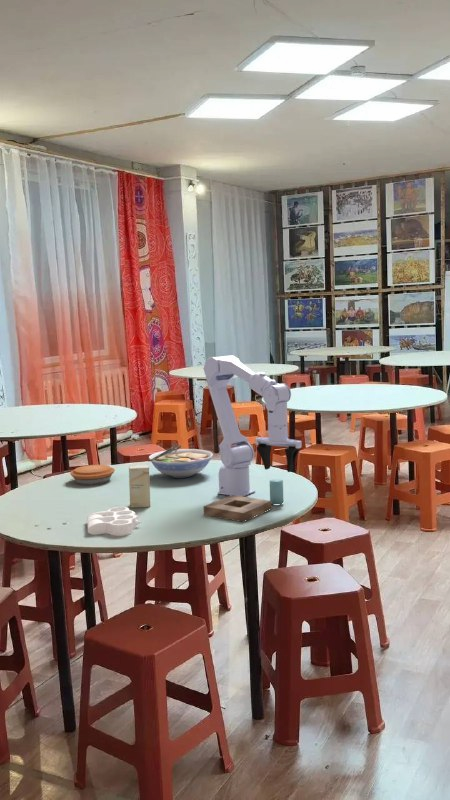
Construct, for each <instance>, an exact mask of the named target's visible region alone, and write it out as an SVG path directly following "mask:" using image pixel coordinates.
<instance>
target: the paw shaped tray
mask: <svg viewBox="0 0 450 800" xmlns="http://www.w3.org/2000/svg"><path fill="white" fill-rule="evenodd" d="M140 517H141V516H140V515H137V513H136V512H135V511H133V510H130V508H129V507H128V506H114V507H111V508H109V509H107V510H104V511H97V512H93V513H91V514H89V515H87V516H86V519H87V520H86V521H87V533H88V534H90V535H93V536H94V535H101V534H110V535H111V536H117V537H120V536H121V537H122V536H128V535H131V534H134V530H135V529H136V528H137V526H138V525H140V524H142V521H140V520H138V519H139V518H140Z"/></svg>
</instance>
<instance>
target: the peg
mask: <svg viewBox="0 0 450 800" xmlns="http://www.w3.org/2000/svg"><path fill="white" fill-rule="evenodd" d="M269 501H271V504H282V503H283V502H284V480H283V479H279V478H277V479H276V478H275V479H270V480H269Z"/></svg>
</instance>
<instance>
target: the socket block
mask: <svg viewBox="0 0 450 800" xmlns="http://www.w3.org/2000/svg"><path fill="white" fill-rule="evenodd" d="M271 508H272V505H271V501H270V500H269V499H268V500H267V499H261V498H254V497H248V496H243V497H242V496H236V495H231V496H230V495H227V496H226V497H224V498H221V499H219V500H218V499H217V500H216V501H213V502H210V503H209V504H206V505H203V515H204V516H209V517H214V516H215V518H219V517H221V518H220V519H225V518H228V519H227V520H230V519H233V520H232V521H236V520H239V521H238V522H241V521H245V520H247V521H249V520H251V519H250V518H252V517H254V516H256V515H258V516H259V514H260V515H262V514H261V513H263V512H265V511H267V510H269V509H271ZM272 509H273V508H272ZM272 509H271V510H272ZM269 511H270V510H269ZM267 512H268V511H267ZM265 513H266V512H265ZM263 514H264V513H263ZM256 517H257V516H256ZM254 518H255V517H254ZM248 519H249V520H248ZM252 519H253V518H252ZM245 522H246V521H245Z"/></svg>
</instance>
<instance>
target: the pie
mask: <svg viewBox="0 0 450 800" xmlns="http://www.w3.org/2000/svg"><path fill="white" fill-rule="evenodd" d="M115 471H116V470H115V468H114V467H111V466H110V465H106V464H91V465H90V464H89V465H81V466H78V467H76V468H74V469H73V470H72V471H70V473H69V474H70V476H71V477H72V478H73V479H74V480H75V482H76V483H77V484H78V485H82V486H83V485H84V486H92V485H100V484H105V483H108V482H109V481H110V480H111V477H112V476H113V474H114V473H115Z"/></svg>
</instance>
